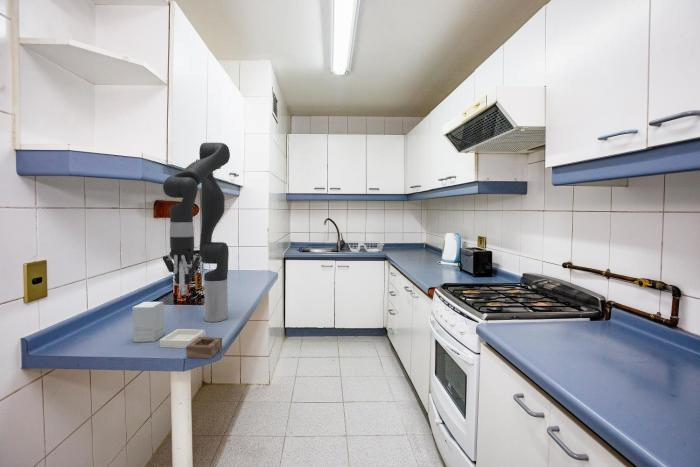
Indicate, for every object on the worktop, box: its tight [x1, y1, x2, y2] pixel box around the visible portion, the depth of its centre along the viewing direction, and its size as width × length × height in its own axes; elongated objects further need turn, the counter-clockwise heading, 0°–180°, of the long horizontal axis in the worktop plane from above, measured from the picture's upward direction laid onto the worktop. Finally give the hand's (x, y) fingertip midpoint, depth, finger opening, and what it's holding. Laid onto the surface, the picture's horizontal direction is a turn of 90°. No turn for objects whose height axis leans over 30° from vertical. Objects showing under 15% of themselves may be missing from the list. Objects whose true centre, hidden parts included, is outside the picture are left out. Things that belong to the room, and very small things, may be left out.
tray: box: [158, 328, 206, 349], centre depth 115 cm, size 11×11×2 cm
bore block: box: [185, 336, 223, 359], centre depth 107 cm, size 8×8×4 cm
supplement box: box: [131, 301, 165, 343], centre depth 118 cm, size 7×7×13 cm
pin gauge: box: [178, 261, 188, 296], centre depth 114 cm, size 3×3×12 cm
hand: (183, 283), depth 114 cm, fingers closed on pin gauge, 2 cm apart
